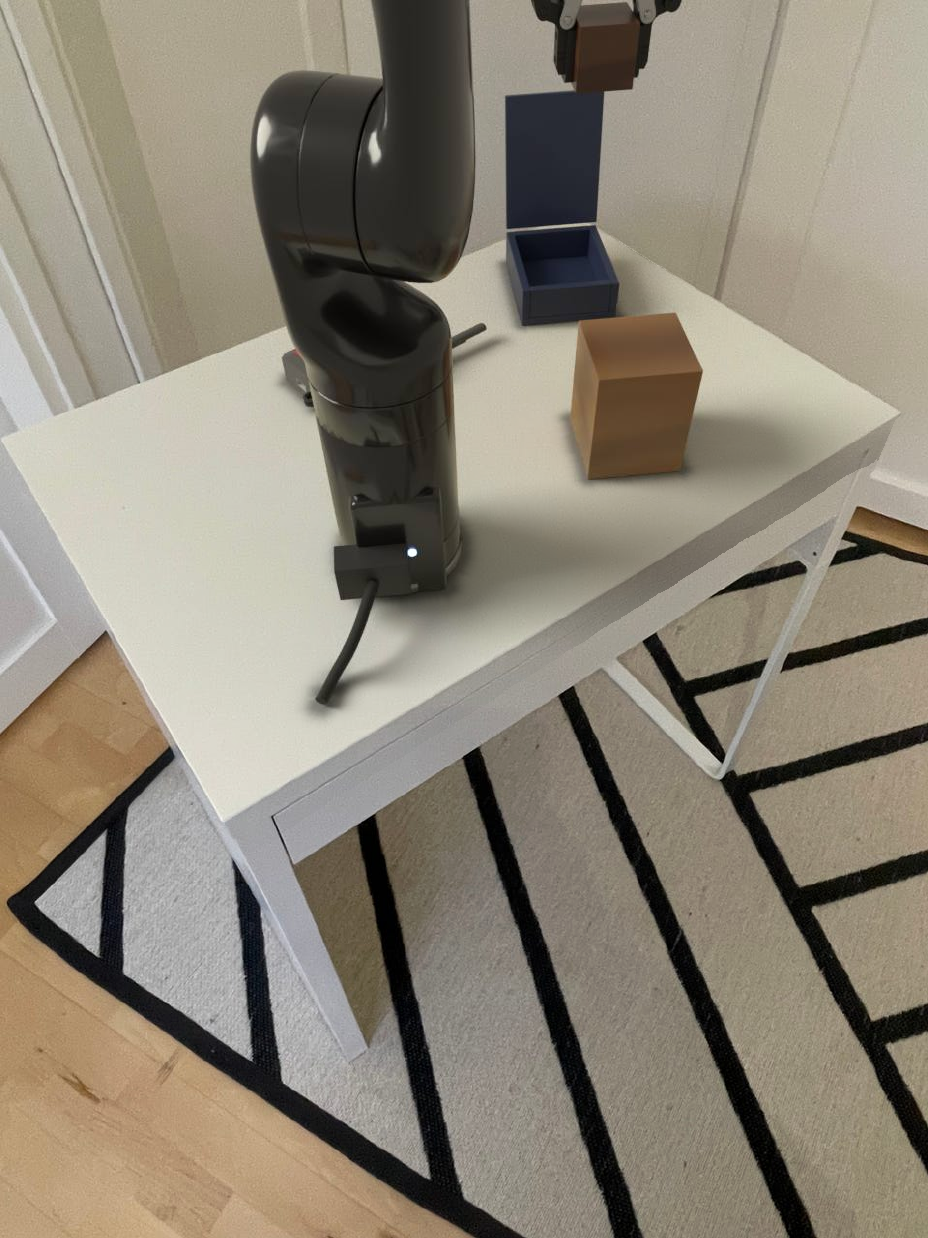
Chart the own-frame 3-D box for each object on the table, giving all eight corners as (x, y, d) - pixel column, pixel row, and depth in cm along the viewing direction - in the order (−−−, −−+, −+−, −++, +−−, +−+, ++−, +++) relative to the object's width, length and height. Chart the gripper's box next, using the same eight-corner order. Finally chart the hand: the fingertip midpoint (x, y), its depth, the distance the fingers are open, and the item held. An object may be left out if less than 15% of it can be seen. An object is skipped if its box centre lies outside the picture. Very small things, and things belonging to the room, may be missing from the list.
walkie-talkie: (322, 429, 77) (492, 343, 84) (314, 388, 74) (492, 302, 81) (272, 383, 81) (437, 305, 89) (262, 343, 78) (435, 265, 85)
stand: (680, 470, 72) (703, 370, 64) (587, 479, 72) (598, 380, 64) (657, 411, 77) (675, 311, 69) (569, 419, 77) (578, 320, 69)
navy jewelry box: (615, 317, 87) (619, 282, 84) (521, 325, 86) (522, 291, 83) (592, 258, 94) (595, 224, 91) (505, 265, 93) (506, 231, 90)
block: (632, 89, 67) (640, 22, 63) (575, 93, 67) (580, 26, 63) (620, 66, 69) (627, 1, 66) (565, 71, 69) (569, 5, 66)
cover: (604, 89, 82) (594, 78, 86) (505, 96, 82) (499, 85, 85) (596, 222, 90) (587, 207, 94) (506, 229, 90) (500, 214, 93)
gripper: (521, -204, 52) (516, 103, 65) (753, -219, 52) (700, 89, 66) (505, -227, 56) (503, 64, 70) (718, -240, 57) (676, 51, 70)
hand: (599, 75), depth 68 cm, fingers closed on block, 4 cm apart
